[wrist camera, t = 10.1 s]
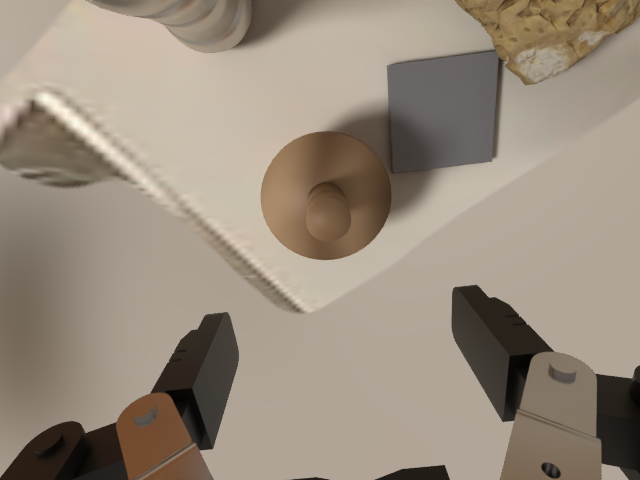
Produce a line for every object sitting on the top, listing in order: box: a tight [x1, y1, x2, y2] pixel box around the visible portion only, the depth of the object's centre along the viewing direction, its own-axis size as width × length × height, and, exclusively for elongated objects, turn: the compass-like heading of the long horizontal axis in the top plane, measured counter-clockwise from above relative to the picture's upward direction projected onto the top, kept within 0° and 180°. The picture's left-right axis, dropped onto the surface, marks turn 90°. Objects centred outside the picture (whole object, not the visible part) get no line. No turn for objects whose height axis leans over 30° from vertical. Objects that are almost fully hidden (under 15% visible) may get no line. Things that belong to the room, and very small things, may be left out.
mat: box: [387, 51, 499, 174], centre depth 30 cm, size 9×9×1 cm
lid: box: [261, 131, 391, 260], centre depth 26 cm, size 10×10×6 cm
